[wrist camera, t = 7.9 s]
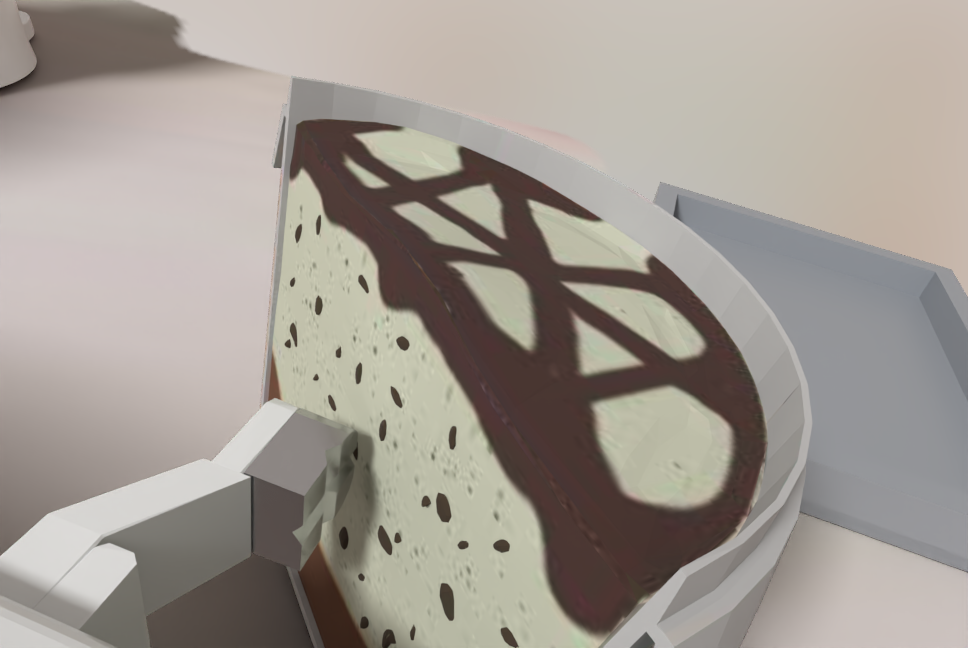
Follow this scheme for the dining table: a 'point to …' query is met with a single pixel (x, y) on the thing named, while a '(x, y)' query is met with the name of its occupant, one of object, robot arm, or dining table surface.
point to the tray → (863, 371)
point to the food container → (521, 391)
